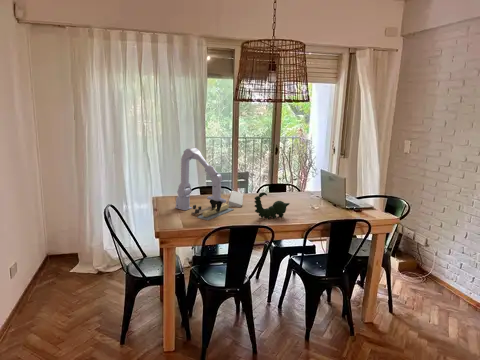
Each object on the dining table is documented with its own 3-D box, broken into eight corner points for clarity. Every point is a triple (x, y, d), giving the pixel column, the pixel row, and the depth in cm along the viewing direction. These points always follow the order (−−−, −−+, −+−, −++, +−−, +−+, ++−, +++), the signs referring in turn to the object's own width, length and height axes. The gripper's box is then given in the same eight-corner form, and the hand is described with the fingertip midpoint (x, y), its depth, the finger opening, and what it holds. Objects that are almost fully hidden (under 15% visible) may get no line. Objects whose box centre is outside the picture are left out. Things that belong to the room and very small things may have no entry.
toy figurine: (258, 223, 232) (293, 217, 239) (257, 195, 227) (292, 190, 235) (253, 218, 240) (286, 213, 248) (252, 191, 236) (286, 186, 244)
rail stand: (191, 214, 239) (191, 205, 238) (212, 206, 259) (212, 198, 258) (198, 216, 236) (198, 207, 235) (219, 208, 256) (219, 200, 255)
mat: (197, 217, 233) (197, 216, 233) (223, 207, 258) (223, 206, 258) (207, 220, 228) (207, 219, 228) (233, 209, 253) (233, 209, 253)
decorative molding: (241, 199, 295) (230, 195, 295) (243, 193, 294) (231, 190, 294) (240, 211, 261) (227, 207, 261) (242, 205, 260) (229, 201, 260)
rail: (202, 216, 233) (202, 211, 232) (225, 207, 254) (225, 203, 254) (206, 217, 231) (206, 212, 231) (228, 208, 253) (228, 204, 252)
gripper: (228, 192, 239) (228, 211, 242) (211, 189, 247) (211, 207, 250) (222, 194, 234) (222, 214, 236) (205, 190, 241) (205, 210, 244)
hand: (216, 211), depth 243 cm, fingers closed on rail, 3 cm apart
